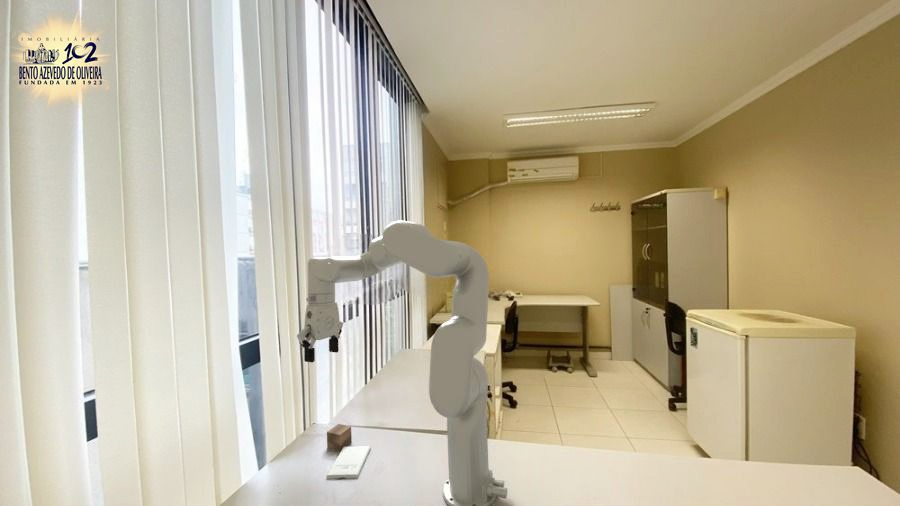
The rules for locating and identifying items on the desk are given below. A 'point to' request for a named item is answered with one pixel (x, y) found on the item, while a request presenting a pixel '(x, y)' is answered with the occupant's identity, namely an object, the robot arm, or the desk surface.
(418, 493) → the desk surface
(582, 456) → the desk surface
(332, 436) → the walnut block
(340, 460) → the external hard drive
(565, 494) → the desk surface
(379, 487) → the desk surface
